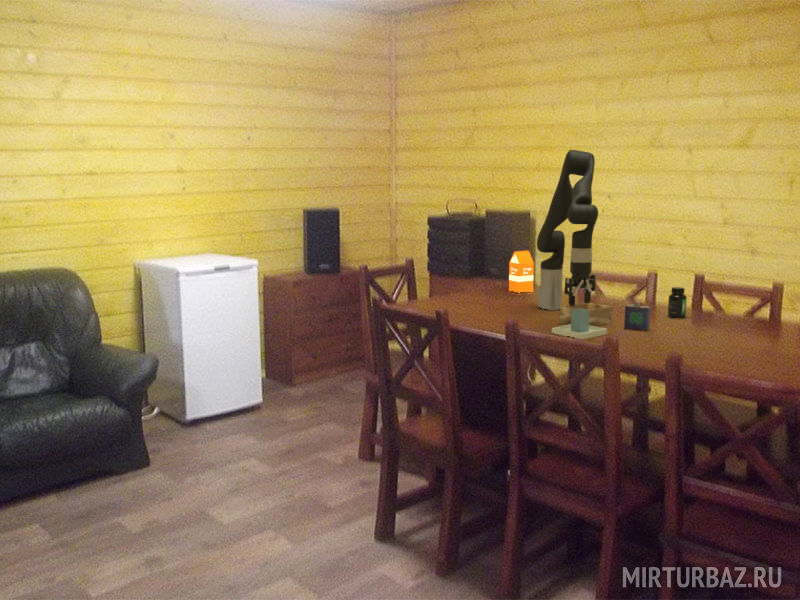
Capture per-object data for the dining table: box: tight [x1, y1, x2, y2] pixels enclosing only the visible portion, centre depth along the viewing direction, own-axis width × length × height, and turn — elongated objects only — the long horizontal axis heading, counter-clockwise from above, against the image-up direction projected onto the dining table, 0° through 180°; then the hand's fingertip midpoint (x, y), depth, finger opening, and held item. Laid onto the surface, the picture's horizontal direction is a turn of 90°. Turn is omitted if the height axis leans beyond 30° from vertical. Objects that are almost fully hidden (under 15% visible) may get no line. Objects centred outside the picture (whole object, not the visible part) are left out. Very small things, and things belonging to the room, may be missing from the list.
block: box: [571, 308, 589, 333], centre depth 297 cm, size 4×4×8 cm
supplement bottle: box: [667, 286, 688, 319], centre depth 326 cm, size 7×7×12 cm
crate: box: [559, 302, 613, 327], centre depth 316 cm, size 13×16×6 cm
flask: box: [623, 301, 651, 332], centre depth 303 cm, size 9×3×11 cm, turn 63°
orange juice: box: [508, 250, 535, 293], centre depth 390 cm, size 8×9×20 cm
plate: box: [551, 324, 608, 340], centre depth 298 cm, size 14×14×2 cm
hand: (579, 304), depth 296 cm, fingers open, 8 cm apart
